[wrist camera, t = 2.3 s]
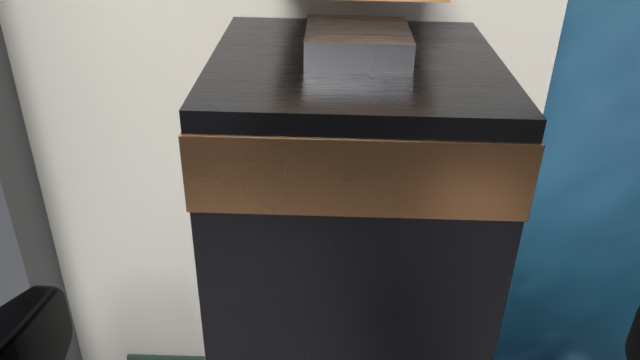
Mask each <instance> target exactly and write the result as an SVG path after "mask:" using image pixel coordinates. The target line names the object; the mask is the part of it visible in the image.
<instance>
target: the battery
mask: <svg viewBox="0 0 640 360" xmlns="http://www.w3.org/2000/svg"><path fill="white" fill-rule="evenodd" d="M179 116H180V126H181V132H180V134H179V136H178V139H179V148H180V157H181V166H182V175H183V184H184V193H185V202H186V212H190V219H191V229H192V238H193V247H194V257H195V266H196V275H197V285H198V294H199V303H200V313H201V322H202V331H203V341H204V350H205V360H493V359H494V354H495V350H496V345H497V341H498V336H499V332H500V327H501V323H502V318H503V314H504V309H505V305H506V300H507V296H508V291H509V287H510V283H511V278H512V274H513V269H514V265H515V260H516V256H517V251H518V247H519V242H520V238H521V233H522V229H523V224H524V222H528V218H529V214H530V209H531V205H532V200H533V196H534V191H535V187H536V183H537V178H538V174H539V169H540V165H541V161H542V156H543V152H544V147H545V146H544V144H543V143H542V139H543V135H544V130H545V126H546V121H547V119H546V118H545V117H544V115H543V114H542V113H541V112H540V110H539V109H538V108H537V106H536V105H535V104H534V102H533V101H532V100H531V98H530V97H529V96H528V94H527V93H526V92H525V90H524V89H523V88H522V86H521V85H520V84H519V83H518V81H517V80H516V79H515V77H514V76H513V75H512V73H511V72H510V71H509V69H508V68H507V67H506V65H505V64H504V63H503V61H502V60H501V59H500V57H499V56H498V55H497V54H496V52H495V51H494V50H493V48H492V47H491V46H490V44H489V43H488V42H487V40H486V39H485V38H484V36H483V35H482V34H481V32H480V31H479V30H478V28H477V27H476V26H475V25H474V23H471V22H429V21H406V18H405V16H364V15H322V14H308V18H307V19H302V18H260V17H233V19H232V20H231V22H230V24H229V25H228V27H227V29H226V31H225V32H224V34H223V36H222V37H221V39H220V41H219V43H218V44H217V46H216V48H215V49H214V51H213V53H212V55H211V56H210V58H209V60H208V61H207V63H206V65H205V67H204V68H203V70H202V72H201V73H200V75H199V77H198V79H197V80H196V82H195V84H194V85H193V87H192V89H191V91H190V92H189V94H188V96H187V97H186V99H185V101H184V103H183V104H182V106H181V108H180V109H179Z"/></svg>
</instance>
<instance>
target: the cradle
mask: <svg viewBox="0 0 640 360" xmlns="http://www.w3.org/2000/svg"><path fill="white" fill-rule="evenodd" d="M567 2H568V0H0V306H2V305H3V304H5V303H7V302H8V301H10V300H11V299H13V298H15V297H16V296H18V295H19V294H21V293H22V292H24V291H26V290H27V289H29V288H31V287H33V286H36V285H48V286H59V287H61V288H62V289H63V291H64V293H65V296H66V300H67V304H68V308H69V312H70V316H71V320H72V325H73V336H72V340H71V344H70V347H69V350H68V353H67V356H66V359H65V360H205V350H204V341H203V331H202V322H201V313H200V303H199V294H198V285H197V275H196V266H195V257H194V247H193V238H192V229H191V219H190V212H186V202H185V193H184V184H183V175H182V166H181V157H180V148H179V139H178V136H179V134H180V132H181V126H180V116H179V109H180V108H181V106H182V104H183V103H184V101H185V99H186V97H187V96H188V94H189V92H190V91H191V89H192V87H193V85H194V84H195V82H196V80H197V79H198V77H199V75H200V73H201V72H202V70H203V68H204V67H205V65H206V63H207V61H208V60H209V58H210V56H211V55H212V53H213V51H214V49H215V48H216V46H217V44H218V43H219V41H220V39H221V37H222V36H223V34H224V32H225V31H226V29H227V27H228V25H229V24H230V22H231V20H232V19H233V17H260V18H302V19H307V18H308V14H322V15H364V16H405V18H406V21H429V22H471V23H474V25H475V26H476V27H477V28H478V30H479V31H480V32H481V34H482V35H483V36H484V38H485V39H486V40H487V42H488V43H489V44H490V46H491V47H492V48H493V50H494V51H495V52H496V54H497V55H498V56H499V57H500V59H501V60H502V61H503V63H504V64H505V65H506V67H507V68H508V69H509V71H510V72H511V73H512V75H513V76H514V77H515V79H516V80H517V81H518V83H519V84H520V85H521V86H522V88H523V89H524V90H525V92H526V93H527V94H528V96H529V97H530V98H531V100H532V101H533V102H534V104H535V105H536V106H537V108H538V109H539V110H540V112H541V113H542V114H543V113H544V108H545V103H546V99H547V94H548V89H549V85H550V80H551V76H552V71H553V66H554V62H555V57H556V53H557V48H558V43H559V39H560V34H561V30H562V25H563V20H564V16H565V11H566V6H567Z"/></svg>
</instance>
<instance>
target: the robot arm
mask: <svg viewBox="0 0 640 360" xmlns="http://www.w3.org/2000/svg"><path fill="white" fill-rule="evenodd" d="M72 336H73V325H72V320H71V316H70V312H69V308H68V304H67V300H66V296H65V293H64V291H63V289H62V288H61V287H59V286H48V285H36V286H33V287H31V288H29V289H27V290H26V291H24V292H22V293H21V294H19V295H18V296H16V297H15V298H13V299H11V300H10V301H8V302H7V303H5V304H3V305H2V306H0V360H65V359H66V356H67V353H68V350H69V347H70V344H71V340H72ZM625 352H626V358H627V360H640V306H639V307H638V309H637V312H636V314H635V317H634V320H633V323H632V326H631V328H630V331H629V334H628V337H627V339H626V344H625Z"/></svg>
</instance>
